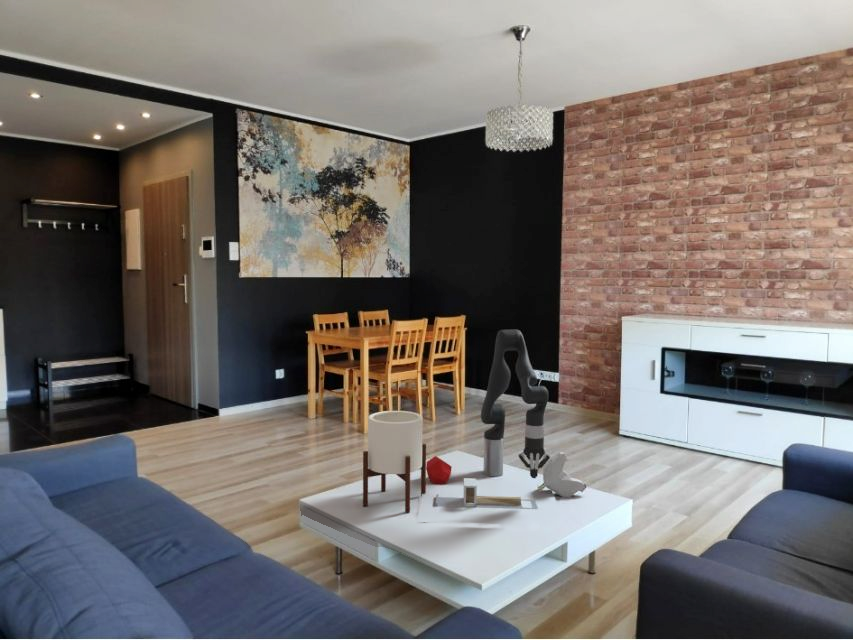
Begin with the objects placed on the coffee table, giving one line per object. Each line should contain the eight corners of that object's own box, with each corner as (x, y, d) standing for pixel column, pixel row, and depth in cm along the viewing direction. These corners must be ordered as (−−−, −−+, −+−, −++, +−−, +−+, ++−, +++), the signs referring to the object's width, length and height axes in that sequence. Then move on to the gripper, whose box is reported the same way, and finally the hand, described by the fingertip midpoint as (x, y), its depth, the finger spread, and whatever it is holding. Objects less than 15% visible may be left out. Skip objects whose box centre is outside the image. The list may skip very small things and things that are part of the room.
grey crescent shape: (543, 506, 255) (589, 493, 254) (531, 464, 254) (576, 450, 253) (541, 500, 262) (585, 487, 261) (528, 459, 261) (573, 446, 260)
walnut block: (464, 500, 246) (465, 483, 246) (474, 500, 246) (474, 484, 246) (464, 504, 242) (465, 487, 242) (474, 504, 242) (475, 487, 242)
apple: (427, 490, 267) (418, 469, 280) (452, 489, 271) (443, 469, 284) (431, 468, 263) (423, 448, 276) (457, 468, 267) (447, 448, 280)
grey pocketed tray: (435, 500, 250) (436, 477, 249) (534, 503, 248) (535, 479, 247) (435, 509, 240) (435, 485, 239) (538, 512, 238) (538, 488, 237)
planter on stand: (381, 489, 263) (381, 408, 261) (429, 495, 256) (429, 413, 253) (358, 507, 242) (358, 420, 240) (410, 514, 235) (411, 425, 232)
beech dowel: (476, 501, 245) (476, 495, 245) (520, 502, 244) (520, 497, 244) (476, 503, 243) (476, 497, 243) (520, 504, 242) (521, 499, 242)
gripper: (549, 433, 244) (548, 475, 246) (517, 432, 245) (516, 474, 246) (552, 438, 237) (551, 481, 238) (518, 437, 238) (518, 480, 239)
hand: (533, 477), depth 242 cm, fingers closed
